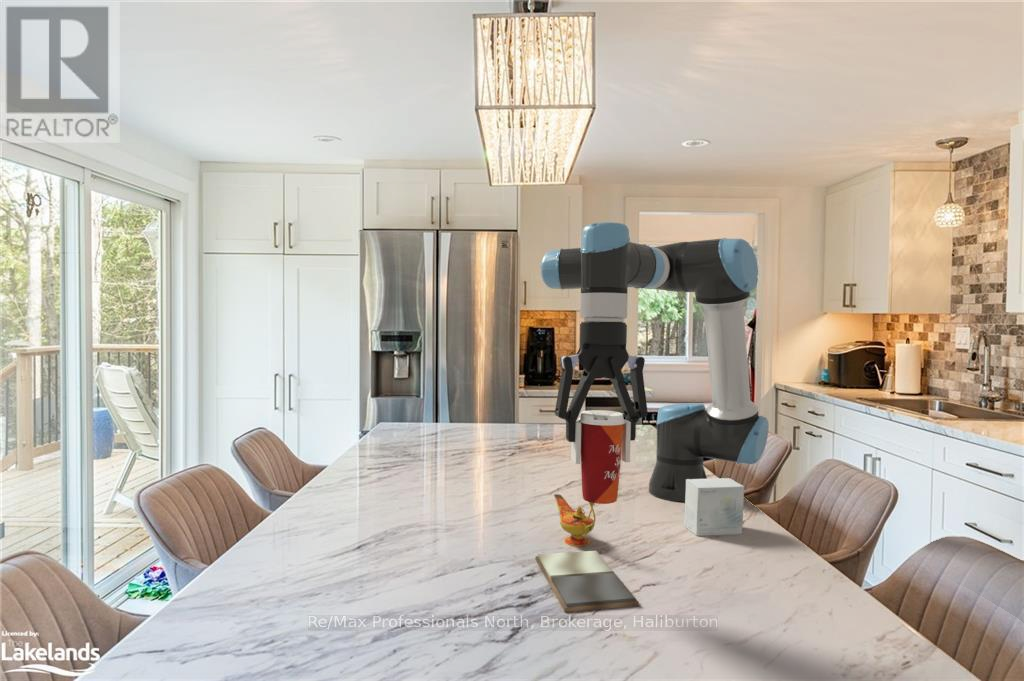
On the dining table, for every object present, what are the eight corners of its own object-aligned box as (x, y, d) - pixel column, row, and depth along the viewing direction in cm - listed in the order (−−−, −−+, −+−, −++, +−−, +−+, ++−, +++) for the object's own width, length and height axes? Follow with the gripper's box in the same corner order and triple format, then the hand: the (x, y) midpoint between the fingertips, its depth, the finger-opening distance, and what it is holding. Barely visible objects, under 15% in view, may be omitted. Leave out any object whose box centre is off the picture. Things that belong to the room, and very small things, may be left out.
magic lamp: (569, 522, 131) (570, 472, 130) (610, 553, 114) (611, 496, 114) (540, 525, 128) (541, 475, 128) (578, 557, 112) (579, 499, 111)
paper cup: (623, 507, 92) (625, 417, 92) (573, 503, 94) (575, 415, 93) (624, 493, 100) (625, 410, 99) (578, 490, 101) (579, 408, 101)
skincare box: (697, 537, 123) (698, 487, 123) (683, 526, 129) (684, 478, 129) (743, 534, 125) (745, 485, 124) (728, 524, 131) (729, 477, 131)
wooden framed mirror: (597, 555, 113) (597, 549, 113) (638, 605, 93) (638, 598, 93) (535, 559, 111) (535, 553, 110) (564, 612, 91) (564, 605, 91)
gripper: (653, 321, 101) (649, 454, 102) (536, 319, 97) (533, 457, 98) (673, 321, 94) (669, 464, 95) (547, 319, 90) (544, 468, 91)
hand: (600, 460), depth 96 cm, fingers closed on paper cup, 8 cm apart
